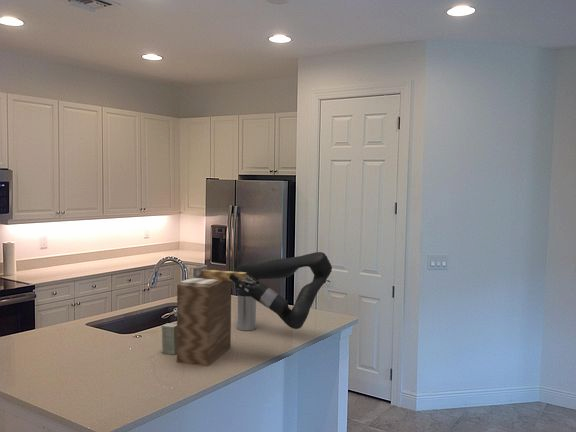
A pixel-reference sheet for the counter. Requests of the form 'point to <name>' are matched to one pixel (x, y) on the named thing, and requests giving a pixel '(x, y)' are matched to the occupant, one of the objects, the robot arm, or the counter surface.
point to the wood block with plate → (216, 274)
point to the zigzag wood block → (203, 320)
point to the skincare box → (169, 338)
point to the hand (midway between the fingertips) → (234, 274)
